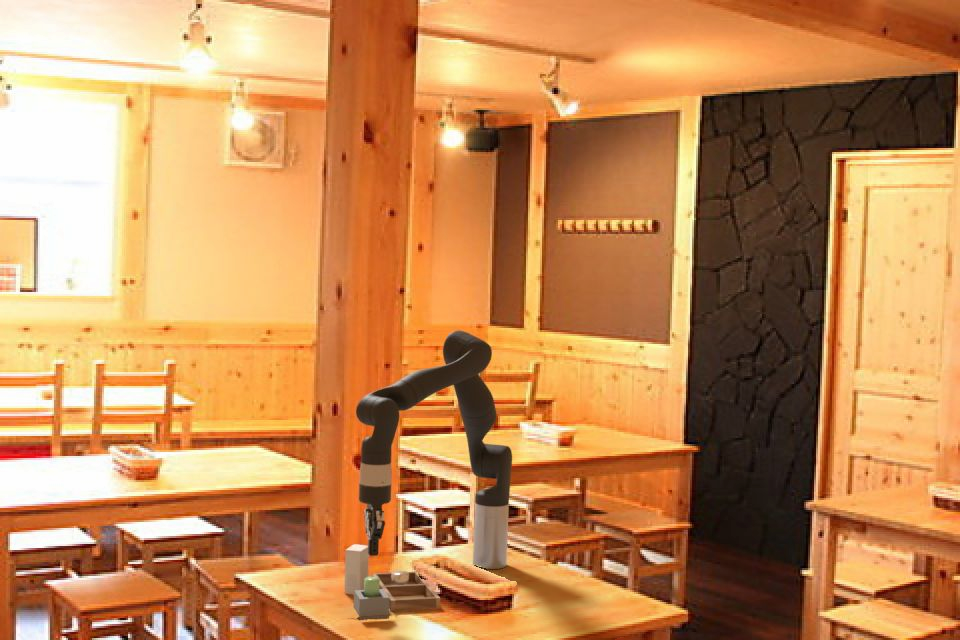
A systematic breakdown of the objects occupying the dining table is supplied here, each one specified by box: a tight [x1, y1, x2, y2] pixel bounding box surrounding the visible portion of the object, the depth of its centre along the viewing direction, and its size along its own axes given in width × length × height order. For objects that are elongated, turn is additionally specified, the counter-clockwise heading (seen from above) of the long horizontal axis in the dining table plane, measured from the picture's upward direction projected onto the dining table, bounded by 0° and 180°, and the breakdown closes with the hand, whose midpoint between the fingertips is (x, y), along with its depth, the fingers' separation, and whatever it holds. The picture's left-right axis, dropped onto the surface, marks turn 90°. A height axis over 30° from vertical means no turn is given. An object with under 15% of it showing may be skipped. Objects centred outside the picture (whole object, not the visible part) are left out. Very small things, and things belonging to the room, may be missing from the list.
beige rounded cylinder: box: [390, 570, 409, 585], centre depth 302 cm, size 4×4×4 cm
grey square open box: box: [353, 589, 390, 621], centre depth 284 cm, size 7×7×5 cm
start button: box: [364, 576, 380, 597], centre depth 283 cm, size 4×4×4 cm
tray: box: [371, 571, 441, 612], centre depth 297 cm, size 23×12×4 cm, turn 17°
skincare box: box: [344, 543, 370, 596], centre depth 299 cm, size 6×4×12 cm
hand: (372, 554), depth 283 cm, fingers closed
